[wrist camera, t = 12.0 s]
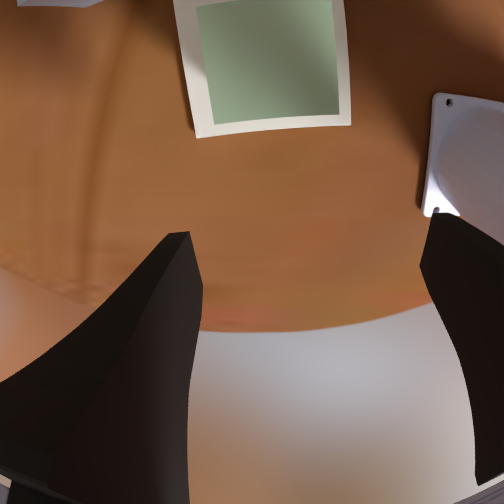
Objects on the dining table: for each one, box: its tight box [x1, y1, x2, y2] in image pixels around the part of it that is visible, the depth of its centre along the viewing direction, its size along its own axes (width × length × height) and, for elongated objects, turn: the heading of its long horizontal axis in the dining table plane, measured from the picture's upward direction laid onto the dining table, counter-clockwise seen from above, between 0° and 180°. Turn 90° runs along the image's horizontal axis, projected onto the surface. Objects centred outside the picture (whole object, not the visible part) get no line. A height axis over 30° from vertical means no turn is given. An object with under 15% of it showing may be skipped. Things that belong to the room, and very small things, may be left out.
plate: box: [173, 0, 351, 138], centre depth 13 cm, size 8×8×1 cm
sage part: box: [196, 0, 339, 125], centre depth 11 cm, size 4×4×6 cm
